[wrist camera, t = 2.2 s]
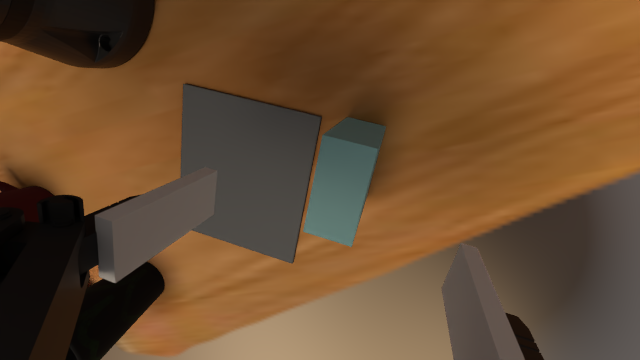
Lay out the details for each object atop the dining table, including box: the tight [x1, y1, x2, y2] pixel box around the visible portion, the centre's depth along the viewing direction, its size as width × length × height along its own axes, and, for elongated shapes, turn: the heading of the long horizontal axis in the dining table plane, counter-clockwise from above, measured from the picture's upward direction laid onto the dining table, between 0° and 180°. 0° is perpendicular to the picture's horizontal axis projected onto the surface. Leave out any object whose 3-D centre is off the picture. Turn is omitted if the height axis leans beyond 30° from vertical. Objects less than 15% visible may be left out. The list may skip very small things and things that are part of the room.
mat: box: [181, 84, 322, 263], centre depth 32 cm, size 14×16×1 cm
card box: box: [303, 117, 386, 247], centre depth 24 cm, size 4×7×9 cm, turn 169°
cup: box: [65, 262, 164, 360], centre depth 35 cm, size 8×8×12 cm
